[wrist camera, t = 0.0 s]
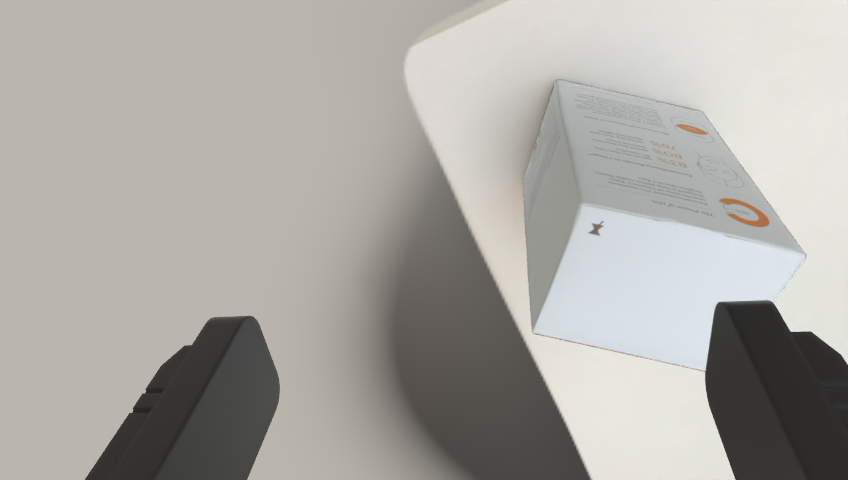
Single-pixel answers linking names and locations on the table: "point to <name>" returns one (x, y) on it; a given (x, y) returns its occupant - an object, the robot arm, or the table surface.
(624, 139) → the small box
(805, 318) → the table surface
